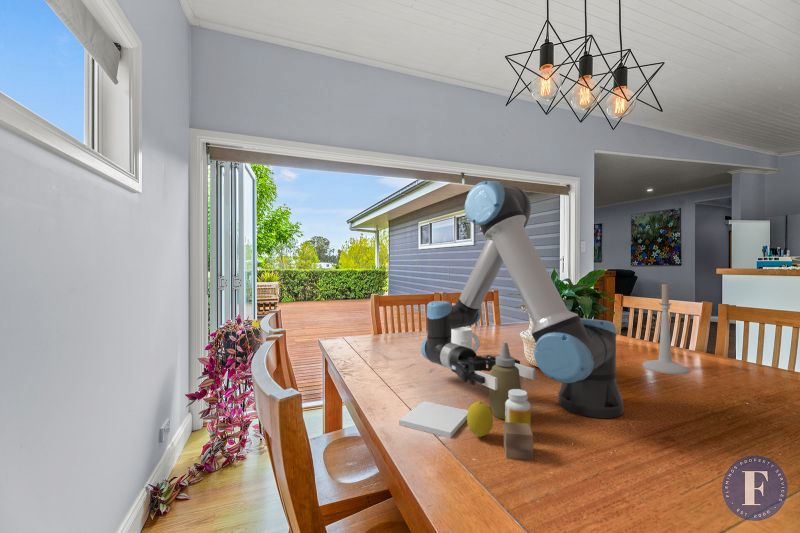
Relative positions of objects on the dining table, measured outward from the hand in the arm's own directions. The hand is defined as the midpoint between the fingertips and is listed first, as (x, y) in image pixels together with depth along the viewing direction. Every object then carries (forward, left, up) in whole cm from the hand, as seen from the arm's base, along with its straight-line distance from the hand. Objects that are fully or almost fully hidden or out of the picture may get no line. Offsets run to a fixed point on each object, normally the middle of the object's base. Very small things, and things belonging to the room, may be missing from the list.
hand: (516, 379), depth 88 cm
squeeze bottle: (+3, -2, -10) cm, 11 cm away
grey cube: (-4, +15, -10) cm, 18 cm away
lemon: (+5, +12, -10) cm, 17 cm away
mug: (+29, -46, -10) cm, 55 cm away
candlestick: (-36, -67, -10) cm, 77 cm away
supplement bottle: (-2, +7, -10) cm, 13 cm away
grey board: (+17, +9, -10) cm, 22 cm away
